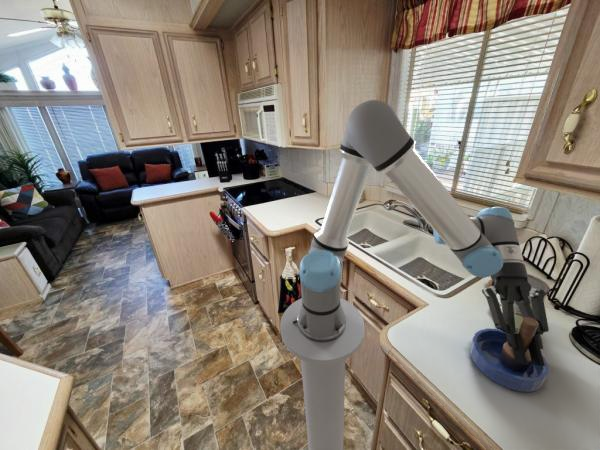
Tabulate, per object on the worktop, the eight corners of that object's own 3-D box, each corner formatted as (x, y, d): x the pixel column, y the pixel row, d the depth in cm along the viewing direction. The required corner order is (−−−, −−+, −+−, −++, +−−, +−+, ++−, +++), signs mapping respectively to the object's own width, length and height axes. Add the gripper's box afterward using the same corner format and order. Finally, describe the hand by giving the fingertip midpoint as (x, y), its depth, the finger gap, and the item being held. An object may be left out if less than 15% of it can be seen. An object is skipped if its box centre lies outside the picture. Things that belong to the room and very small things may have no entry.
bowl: (487, 390, 58) (492, 377, 56) (459, 338, 71) (462, 327, 69) (558, 396, 56) (566, 383, 54) (516, 341, 69) (521, 330, 67)
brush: (507, 371, 61) (525, 330, 55) (494, 351, 66) (509, 311, 60) (533, 373, 60) (554, 331, 54) (517, 353, 65) (535, 312, 59)
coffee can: (489, 302, 83) (501, 267, 77) (530, 314, 77) (546, 277, 72) (490, 323, 75) (503, 286, 69) (535, 337, 70) (554, 298, 64)
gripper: (480, 260, 63) (502, 364, 55) (551, 261, 61) (584, 370, 53) (466, 266, 70) (483, 359, 62) (528, 267, 68) (555, 364, 60)
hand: (529, 363), depth 57 cm, fingers closed on brush, 3 cm apart
